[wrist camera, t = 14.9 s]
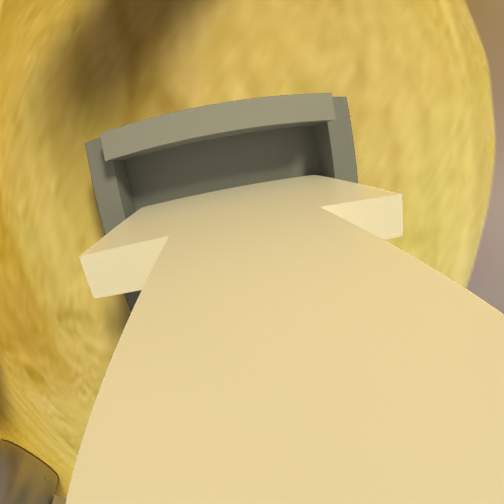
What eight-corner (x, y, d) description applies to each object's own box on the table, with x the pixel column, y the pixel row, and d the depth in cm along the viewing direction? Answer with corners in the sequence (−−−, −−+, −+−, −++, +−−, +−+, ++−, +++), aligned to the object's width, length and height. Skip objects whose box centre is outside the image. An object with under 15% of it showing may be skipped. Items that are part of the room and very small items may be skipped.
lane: (214, 449, 18) (217, 481, 15) (107, 145, 11) (76, 142, 8) (337, 422, 19) (350, 451, 16) (323, 105, 12) (355, 93, 8)
